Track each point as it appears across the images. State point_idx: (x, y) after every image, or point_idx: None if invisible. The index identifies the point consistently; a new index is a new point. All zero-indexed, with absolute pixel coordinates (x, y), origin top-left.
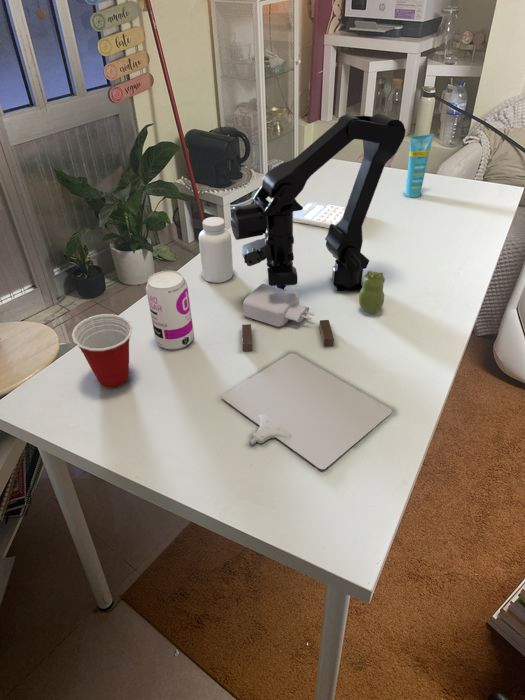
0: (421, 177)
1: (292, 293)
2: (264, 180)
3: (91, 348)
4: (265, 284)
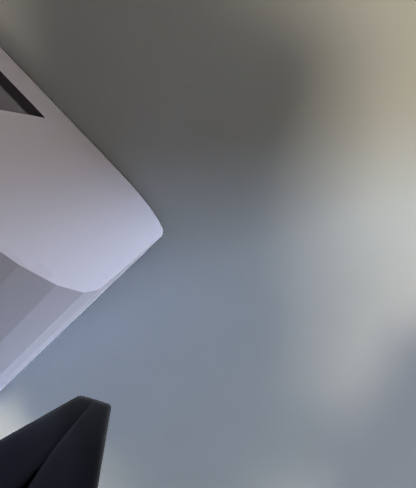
0: None
1: None
2: None
3: None
4: (6, 313)
